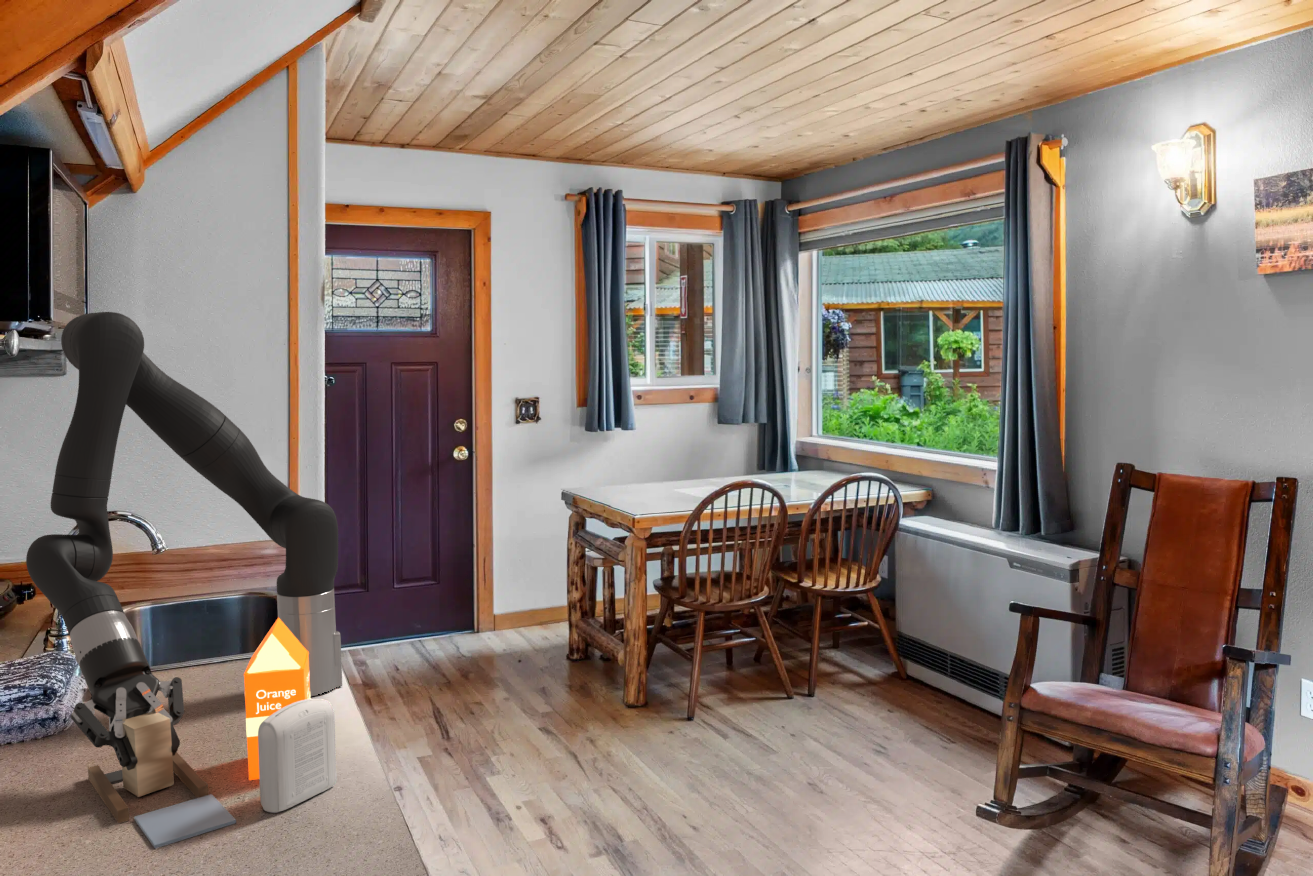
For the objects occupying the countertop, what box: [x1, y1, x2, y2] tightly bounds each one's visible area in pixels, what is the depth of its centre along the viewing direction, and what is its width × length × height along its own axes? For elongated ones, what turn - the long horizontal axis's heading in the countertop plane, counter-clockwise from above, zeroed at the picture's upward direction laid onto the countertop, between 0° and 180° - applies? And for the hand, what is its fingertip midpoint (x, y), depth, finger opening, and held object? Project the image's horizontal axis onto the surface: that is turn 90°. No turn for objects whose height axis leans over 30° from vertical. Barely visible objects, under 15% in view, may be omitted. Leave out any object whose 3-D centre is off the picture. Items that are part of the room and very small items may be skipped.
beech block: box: [121, 712, 175, 798], centre depth 124 cm, size 4×4×9 cm
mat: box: [133, 793, 237, 849], centre depth 116 cm, size 9×10×1 cm
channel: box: [87, 751, 210, 824], centre depth 125 cm, size 10×17×2 cm, turn 42°
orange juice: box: [243, 616, 312, 781], centre depth 132 cm, size 8×9×20 cm
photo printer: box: [258, 698, 337, 814], centre depth 122 cm, size 10×4×12 cm, turn 151°
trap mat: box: [104, 769, 123, 785], centre depth 130 cm, size 7×3×1 cm, turn 132°
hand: (153, 759), depth 123 cm, fingers closed on beech block, 4 cm apart
